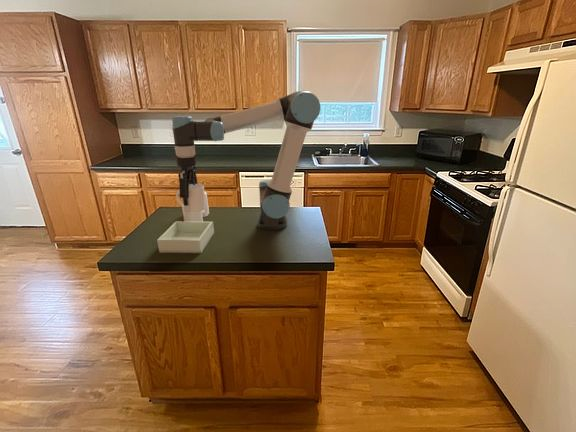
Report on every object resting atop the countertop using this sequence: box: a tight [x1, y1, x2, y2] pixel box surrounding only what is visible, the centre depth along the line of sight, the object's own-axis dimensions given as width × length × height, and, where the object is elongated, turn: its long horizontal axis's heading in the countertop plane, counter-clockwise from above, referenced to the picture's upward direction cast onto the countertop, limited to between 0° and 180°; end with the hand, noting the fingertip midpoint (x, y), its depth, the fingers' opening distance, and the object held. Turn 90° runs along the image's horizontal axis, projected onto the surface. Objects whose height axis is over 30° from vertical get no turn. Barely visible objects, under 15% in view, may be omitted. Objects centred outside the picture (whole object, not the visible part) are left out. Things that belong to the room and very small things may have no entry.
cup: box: [175, 183, 206, 212], centre depth 131 cm, size 8×12×10 cm
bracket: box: [181, 190, 210, 222], centre depth 162 cm, size 25×10×12 cm, turn 5°
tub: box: [156, 220, 215, 254], centre depth 138 cm, size 18×20×6 cm
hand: (191, 208), depth 133 cm, fingers closed on cup, 8 cm apart
